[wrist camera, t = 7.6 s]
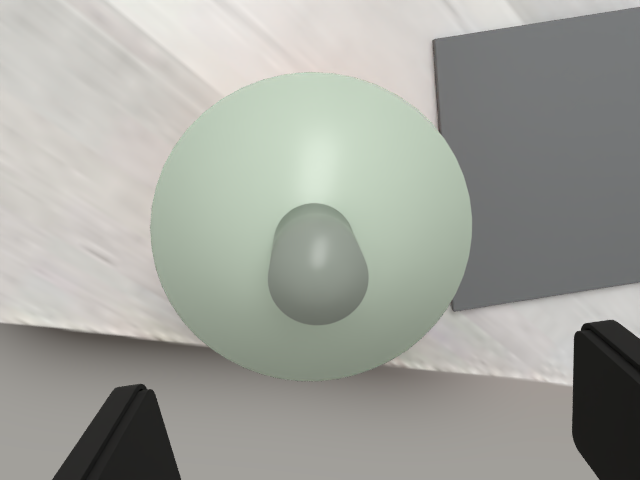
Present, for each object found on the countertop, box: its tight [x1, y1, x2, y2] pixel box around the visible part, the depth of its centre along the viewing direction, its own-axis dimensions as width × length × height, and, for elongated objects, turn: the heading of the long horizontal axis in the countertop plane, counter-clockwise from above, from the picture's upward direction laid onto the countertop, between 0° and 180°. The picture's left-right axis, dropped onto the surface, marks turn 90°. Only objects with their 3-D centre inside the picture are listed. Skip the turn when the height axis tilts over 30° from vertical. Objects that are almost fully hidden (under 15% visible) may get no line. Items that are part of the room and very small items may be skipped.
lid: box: [150, 72, 472, 381], centre depth 21 cm, size 16×16×6 cm
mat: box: [433, 7, 640, 311], centre depth 30 cm, size 18×18×1 cm
